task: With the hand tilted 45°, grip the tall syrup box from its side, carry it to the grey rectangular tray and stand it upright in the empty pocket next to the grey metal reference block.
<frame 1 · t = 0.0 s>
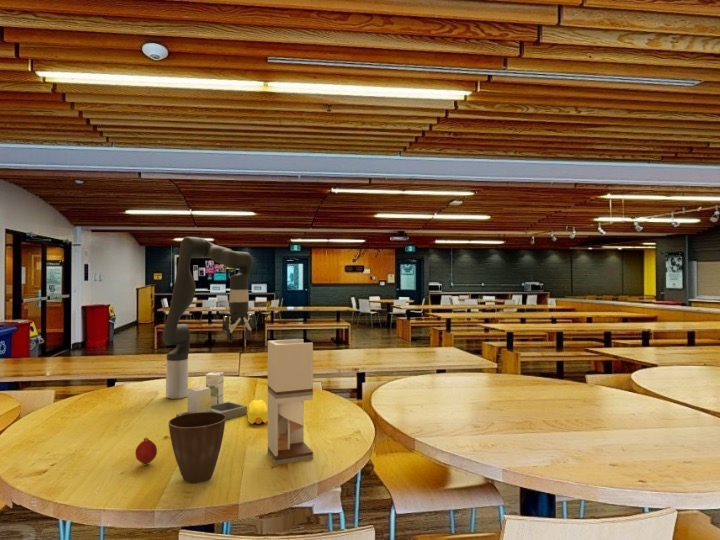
hand: (238, 340, 195), 29 cm above the table, tool pointing down, fingers open, 8 cm apart
syrup box: (214, 407, 204), on the table
reference block: (199, 421, 184), resting on grey rectangular tray
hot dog: (257, 420, 187), on the table
white brown-banded tower: (289, 456, 148), on the table
onion: (146, 465, 141), on the table
grey rectangular tray: (212, 418, 188), on the table
plant pot: (197, 478, 132), on the table
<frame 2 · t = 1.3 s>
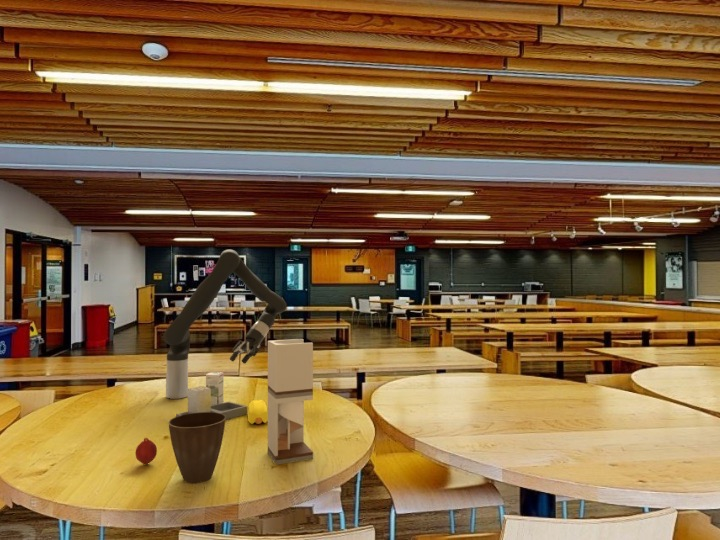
hand: (237, 361, 213), 18 cm above the table, tool tilted 45°, fingers open, 8 cm apart
nothing on the table moved.
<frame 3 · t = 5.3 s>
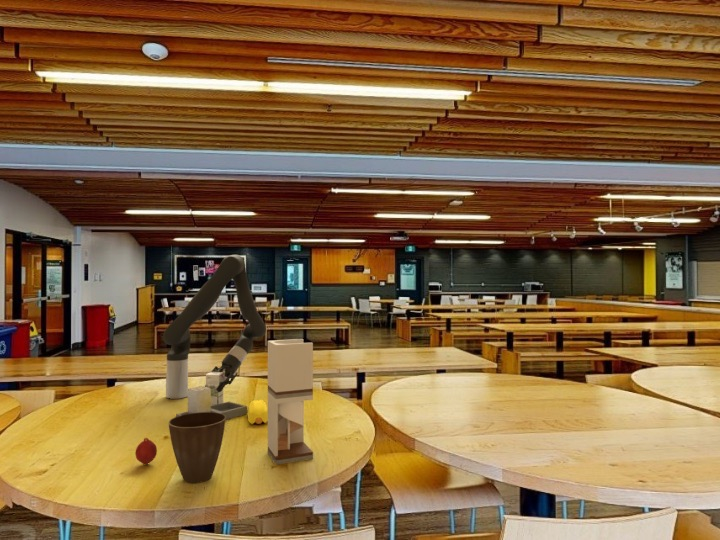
hand: (212, 389, 203), 8 cm above the table, tool tilted 45°, fingers closed on syrup box, 8 cm apart
syrup box: (214, 407, 204), on the table, touching gripper
everything else where it was.
when the fingers open (9 cm above the table, at t = 12.6 s): syrup box stays where it is, resting on grey rectangular tray.
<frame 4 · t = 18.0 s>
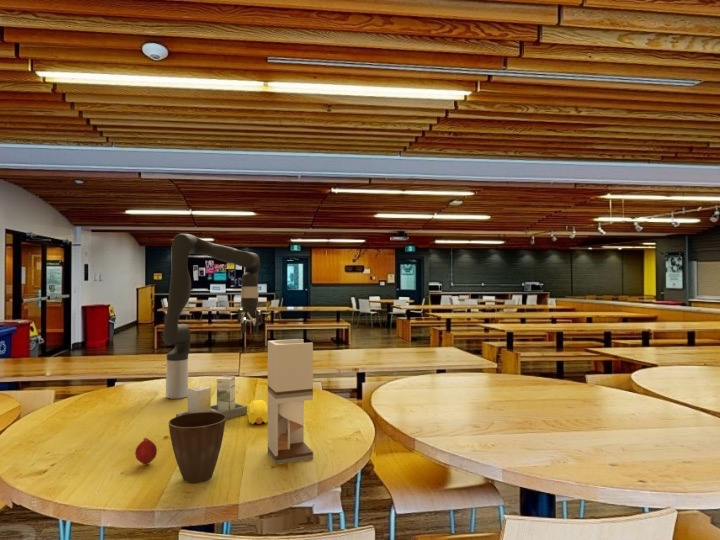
hand: (249, 333, 215), 30 cm above the table, tool pointing down, fingers open, 8 cm apart
syrup box: (226, 413, 193), resting on grey rectangular tray
everything else where it was.
at the end: syrup box 0.2 cm from the target spot on the grey rectangular tray, point 0.4 cm above the grey rectangular tray's base; syrup box tilted 0°; the gripper is holding nothing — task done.
